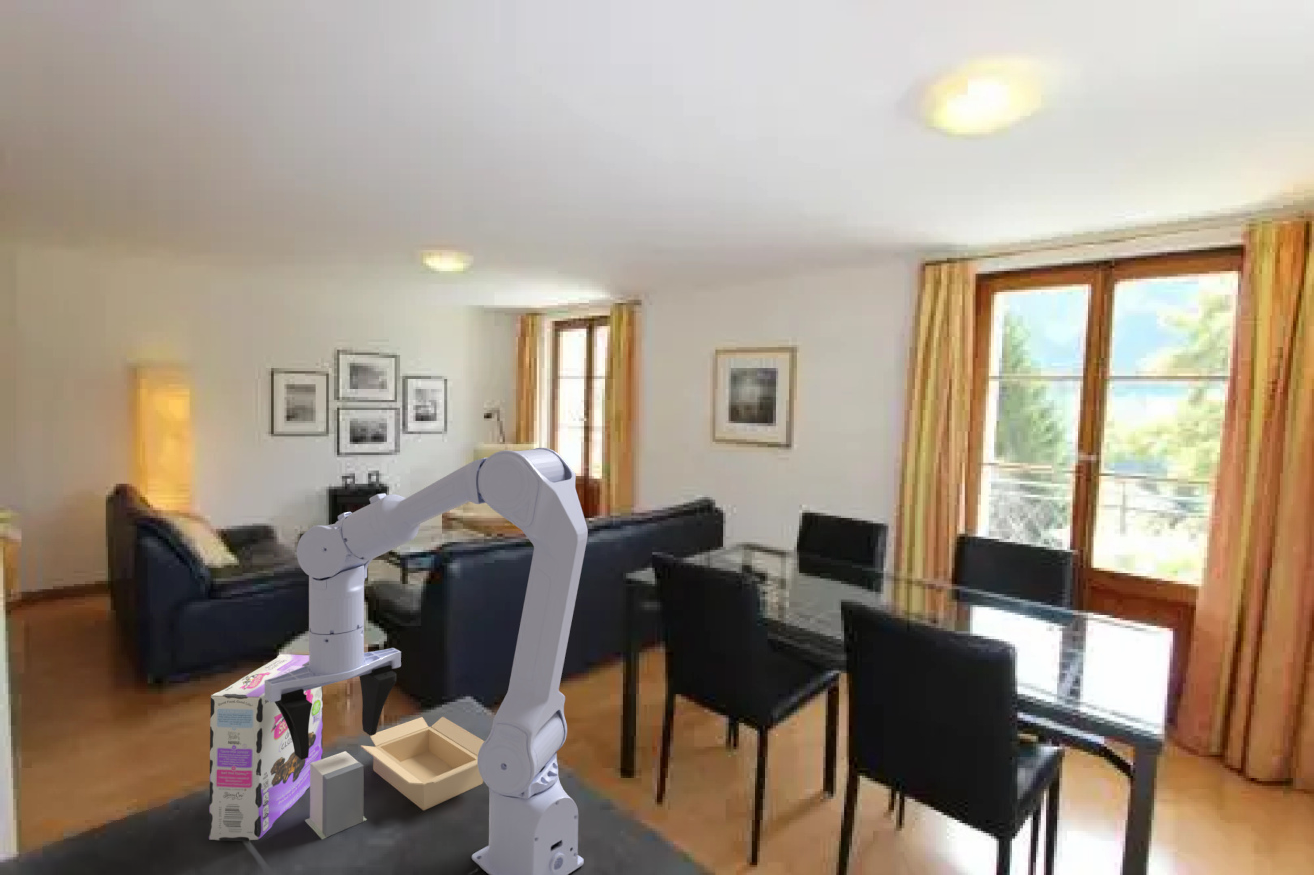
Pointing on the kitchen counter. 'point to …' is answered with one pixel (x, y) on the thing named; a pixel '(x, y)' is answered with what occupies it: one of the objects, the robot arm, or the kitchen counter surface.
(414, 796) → the carton
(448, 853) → the kitchen counter surface
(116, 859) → the kitchen counter surface
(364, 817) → the mat
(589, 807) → the kitchen counter surface
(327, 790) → the block
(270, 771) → the candy box
